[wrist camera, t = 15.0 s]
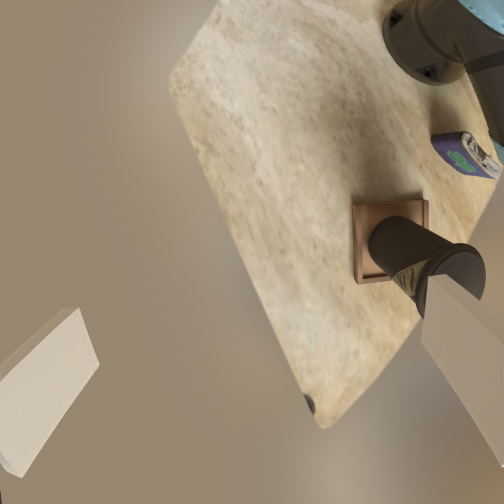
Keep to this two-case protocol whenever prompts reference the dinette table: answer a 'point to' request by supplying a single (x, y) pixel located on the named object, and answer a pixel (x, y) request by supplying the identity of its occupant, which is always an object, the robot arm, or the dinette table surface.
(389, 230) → the container
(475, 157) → the flask
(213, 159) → the dinette table surface
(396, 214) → the square wooden tray
